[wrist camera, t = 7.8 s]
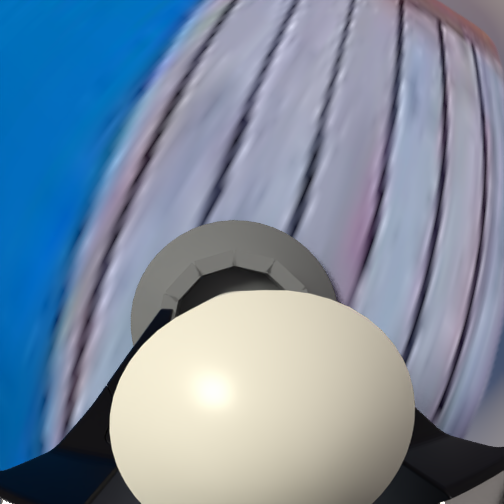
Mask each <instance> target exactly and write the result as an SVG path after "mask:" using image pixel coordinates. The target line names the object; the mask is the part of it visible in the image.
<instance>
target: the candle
mask: <svg viewBox="0 0 504 504" xmlns="http://www.w3.org/2000/svg"><path fill="white" fill-rule="evenodd" d="M414 418H415V401H414V392H413V387H412V383H411V379H410V375H409V372H408V370H407V368H406V365H405V363H404V361H403V358H402V357H401V355H400V354H399V352H398V350H397V349H396V347H395V346H394V344H393V343H392V342H391V340H390V339H389V338H388V337H387V336H386V335H385V334H384V333H383V331H382V330H381V329H380V328H378V327H377V326H376V325H375V324H374V323H372V322H371V321H370V320H369V319H368V318H366V317H365V316H363V315H361V314H360V313H358V312H356V311H355V310H353V309H352V308H350V307H348V306H345V305H343V304H341V303H338V302H336V301H334V300H331V299H328V298H324V297H321V296H317V295H313V294H310V293H302V292H295V291H288V290H256V291H232V292H226V293H223V294H220V295H218V296H216V297H214V298H212V299H210V300H208V301H206V302H204V303H202V304H200V305H199V306H197V307H195V308H193V309H191V310H189V311H187V312H185V313H184V314H182V315H180V316H178V317H176V318H175V319H173V320H172V321H170V322H169V323H168V324H166V325H165V326H163V327H162V328H161V329H159V330H158V331H157V332H156V333H155V334H154V335H153V336H151V337H150V338H149V339H148V340H147V341H146V342H145V343H144V344H143V345H142V346H141V347H140V349H139V350H138V351H137V353H136V354H135V355H134V357H133V358H132V359H131V360H130V362H129V363H128V365H127V367H126V369H125V371H124V372H123V374H122V376H121V378H120V380H119V383H118V385H117V388H116V391H115V394H114V396H113V401H112V406H111V412H110V439H111V446H112V451H113V454H114V458H115V461H116V464H117V467H118V469H119V471H120V473H121V475H122V477H123V479H124V481H125V483H126V484H127V486H128V487H129V489H130V490H131V492H132V493H133V495H134V496H135V497H136V498H137V499H138V500H139V502H140V503H141V504H372V503H373V502H374V501H375V500H376V499H377V498H378V497H379V496H380V495H381V494H382V493H383V491H384V490H385V489H386V488H387V486H388V485H389V484H390V483H391V481H392V480H393V478H394V476H395V475H396V473H397V472H398V470H399V468H400V466H401V464H402V462H403V460H404V458H405V455H406V453H407V450H408V447H409V444H410V441H411V438H412V432H413V427H414Z"/></svg>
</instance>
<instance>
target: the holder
mask: <svg viewBox="0 0 504 504" xmlns="http://www.w3.org/2000/svg"><path fill="white" fill-rule="evenodd" d="M256 290H288V291H295V292H302V293H310V294H313V295H317V296H321V297H324V298H328V299H331V300H334V301H336V302H337V300H336V296H335V292H334V290H333V287H332V284H331V282H330V280H329V278H328V276H327V274H326V272H325V270H324V269H323V267H322V266H321V265H320V263H319V262H318V260H317V259H316V258H315V257H314V256H313V255H312V254H311V253H310V251H309V250H308V249H307V248H305V247H304V246H303V245H302V244H301V243H299V242H298V241H297V240H295V239H294V238H292V237H291V236H289V235H287V234H286V233H284V232H282V231H280V230H277V229H275V228H273V227H270V226H267V225H264V224H260V223H255V222H249V221H236V220H230V221H220V222H214V223H210V224H206V225H202V226H200V227H197V228H194V229H192V230H190V231H188V232H186V233H184V234H182V235H180V236H179V237H177V238H176V239H174V240H173V241H172V242H170V243H169V244H168V245H167V246H165V247H164V248H163V249H162V250H161V251H160V252H159V253H158V254H157V255H156V257H155V258H154V259H153V260H152V262H151V263H150V264H149V266H148V267H147V269H146V270H145V272H144V274H143V275H142V277H141V280H140V282H139V284H138V287H137V289H136V293H135V296H134V300H133V305H132V312H131V333H132V341H133V345H135V344H136V342H137V341H138V339H139V338H140V337H141V335H142V334H143V333H144V331H145V330H146V328H147V327H148V326H149V324H150V323H151V321H152V320H153V319H154V317H155V316H156V315H157V313H158V312H159V311H160V309H162V308H167V309H173V310H174V313H175V318H176V317H178V316H180V315H182V314H184V313H185V312H187V311H189V310H191V309H193V308H195V307H197V306H199V305H200V304H202V303H204V302H206V301H208V300H210V299H212V298H214V297H216V296H218V295H220V294H223V293H226V292H232V291H256Z"/></svg>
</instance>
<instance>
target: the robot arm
mask: <svg viewBox="0 0 504 504" xmlns="http://www.w3.org/2000/svg"><path fill="white" fill-rule="evenodd" d="M173 319H175V313H174V310H173V309H167V308H162V309H160V311H159V312H158V313H157V315H156V316H155V317H154V319H153V320H152V321H151V323H150V324H149V326H148V327H147V328H146V330H145V331H144V333H143V334H142V335H141V337H140V338H139V339H138V341H137V342H136V344H135V345H134V346H133V348H132V349H131V351H130V352H129V354H128V355H127V356H126V358H125V359H124V361H123V362H122V363H121V365H120V366H119V368H118V369H117V371H116V372H115V373H114V375H113V376H112V378H111V379H110V381H109V382H108V384H107V386H108V387H107V386H105V388H104V389H103V391H102V392H101V394H100V395H99V396H98V398H97V399H96V401H95V402H94V403H93V405H92V406H91V407H90V408H89V410H88V411H87V412H86V413H85V414H84V416H83V417H82V418H81V419H80V420H79V421H78V423H77V424H76V425H75V426H74V427H73V428H72V430H71V431H70V432H69V433H68V434H67V435H66V436H65V438H64V439H63V440H62V441H61V442H60V443H59V444H58V445H57V446H56V447H55V448H53V449H52V450H51V451H49V452H47V453H45V454H43V455H41V456H38V457H36V458H34V459H32V460H29V461H27V462H25V463H22V464H20V465H17V466H15V467H13V468H10V469H7V470H4V471H0V504H141V503H140V502H139V500H138V499H137V498H136V497H135V496H134V495H133V493H132V492H131V490H130V489H129V487H128V486H127V484H126V483H125V481H124V479H123V477H122V475H121V473H120V471H119V469H118V467H117V464H116V461H115V458H114V454H113V451H112V446H111V439H110V412H111V406H112V401H113V396H114V394H115V391H116V388H117V385H118V383H119V380H120V378H121V376H122V374H123V372H124V371H125V369H126V367H127V365H128V363H129V362H130V360H131V359H132V358H133V357H134V355H135V354H136V353H137V351H138V350H139V349H140V347H141V346H142V345H143V344H144V343H145V342H146V341H147V340H148V339H149V338H150V337H151V336H153V335H154V334H155V333H156V332H157V331H158V330H159V329H161V328H162V327H163V326H165V325H166V324H168V323H169V322H170V321H172V320H173ZM372 504H504V447H492V446H487V445H483V444H479V443H476V442H472V441H468V440H464V439H461V438H457V437H454V436H450V435H448V434H446V433H444V432H443V431H441V430H440V429H438V428H437V427H436V426H435V425H434V424H433V423H432V422H431V421H429V420H428V419H427V418H426V417H425V416H424V415H423V414H422V413H421V412H420V411H419V410H417V409H416V408H415V418H414V427H413V432H412V438H411V441H410V444H409V447H408V450H407V453H406V455H405V458H404V460H403V462H402V464H401V466H400V468H399V470H398V472H397V473H396V475H395V476H394V478H393V480H392V481H391V483H390V484H389V485H388V486H387V488H386V489H385V490H384V491H383V493H382V494H381V495H380V496H379V497H378V498H377V499H376V500H375V501H374V502H373V503H372Z"/></svg>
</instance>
